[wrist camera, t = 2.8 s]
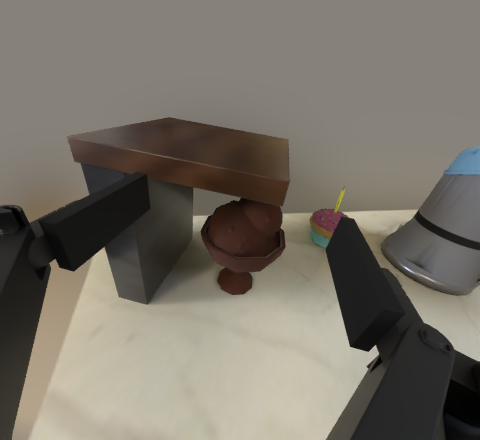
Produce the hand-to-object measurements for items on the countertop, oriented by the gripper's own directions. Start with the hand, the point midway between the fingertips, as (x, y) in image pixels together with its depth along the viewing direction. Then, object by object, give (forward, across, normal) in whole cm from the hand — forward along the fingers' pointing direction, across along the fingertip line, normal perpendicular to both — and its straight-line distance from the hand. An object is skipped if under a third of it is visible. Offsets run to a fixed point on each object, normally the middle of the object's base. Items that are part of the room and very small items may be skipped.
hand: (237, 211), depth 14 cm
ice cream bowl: (+10, 0, -18) cm, 20 cm away
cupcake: (+26, +16, -18) cm, 35 cm away
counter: (+10, -5, -18) cm, 21 cm away
